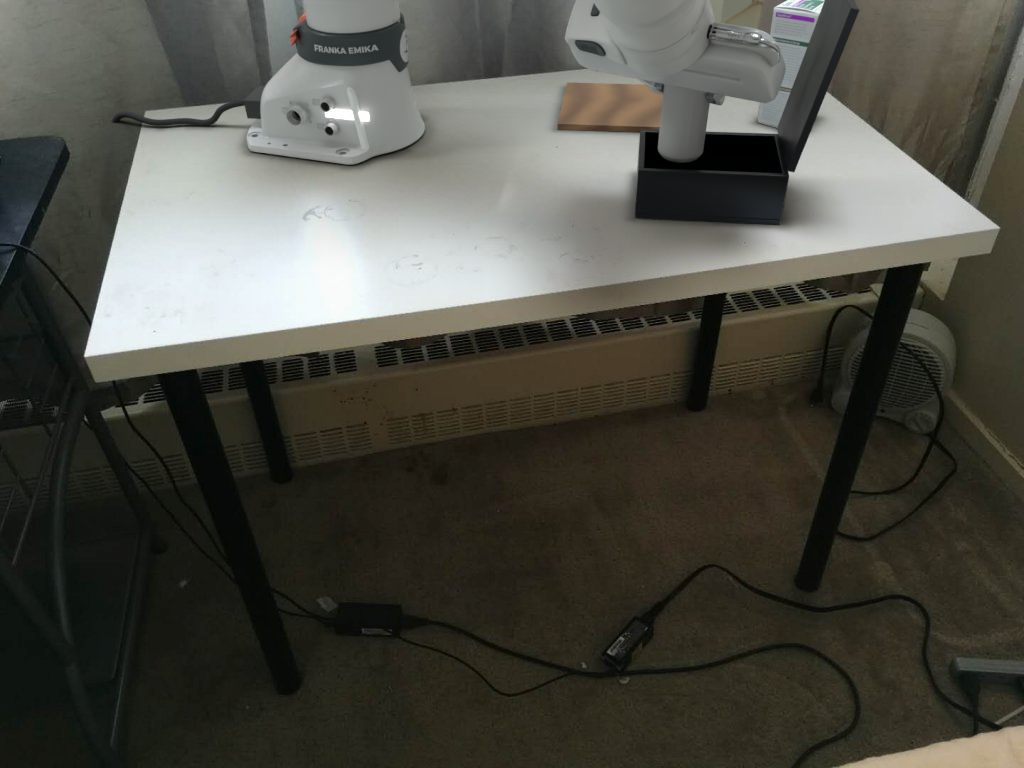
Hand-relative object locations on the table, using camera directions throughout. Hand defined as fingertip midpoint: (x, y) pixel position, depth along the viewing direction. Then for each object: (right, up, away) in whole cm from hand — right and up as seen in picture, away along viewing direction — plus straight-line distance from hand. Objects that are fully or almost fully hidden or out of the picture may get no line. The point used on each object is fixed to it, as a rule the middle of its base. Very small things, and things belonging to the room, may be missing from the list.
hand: (688, 92), depth 88 cm
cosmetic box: (+12, +13, +34) cm, 38 cm away
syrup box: (+17, +4, +22) cm, 28 cm away
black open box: (+3, -10, +7) cm, 12 cm away
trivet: (-5, +7, +26) cm, 27 cm away
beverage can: (0, -6, +4) cm, 7 cm away
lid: (+11, +1, -3) cm, 12 cm away
